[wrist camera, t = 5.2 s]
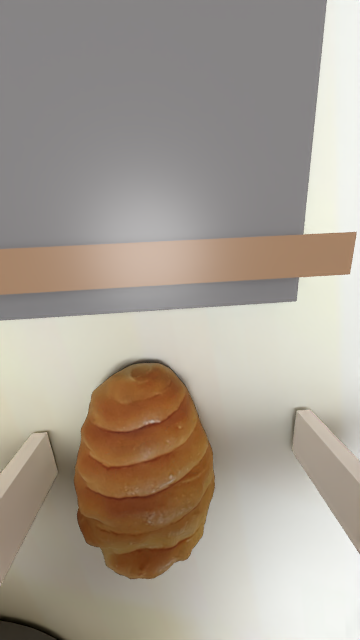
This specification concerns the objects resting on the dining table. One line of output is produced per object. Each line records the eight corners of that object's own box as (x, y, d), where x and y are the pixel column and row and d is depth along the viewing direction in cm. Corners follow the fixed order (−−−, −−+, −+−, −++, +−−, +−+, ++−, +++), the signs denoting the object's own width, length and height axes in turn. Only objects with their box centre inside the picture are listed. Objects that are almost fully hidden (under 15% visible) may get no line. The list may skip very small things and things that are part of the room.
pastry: (68, 361, 10) (15, 418, 6) (207, 349, 11) (231, 397, 7) (99, 502, 13) (73, 600, 9) (210, 489, 13) (228, 577, 9)
